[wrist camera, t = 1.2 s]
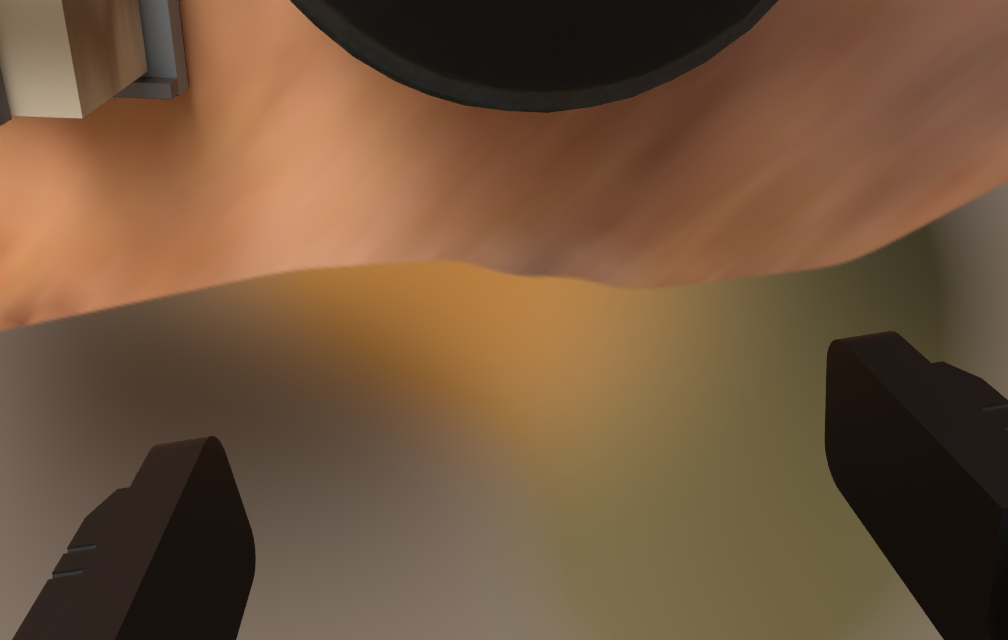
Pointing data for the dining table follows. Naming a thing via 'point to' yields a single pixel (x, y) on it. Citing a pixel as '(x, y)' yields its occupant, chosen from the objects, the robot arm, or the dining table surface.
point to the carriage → (67, 55)
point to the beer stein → (533, 45)
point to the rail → (160, 52)
